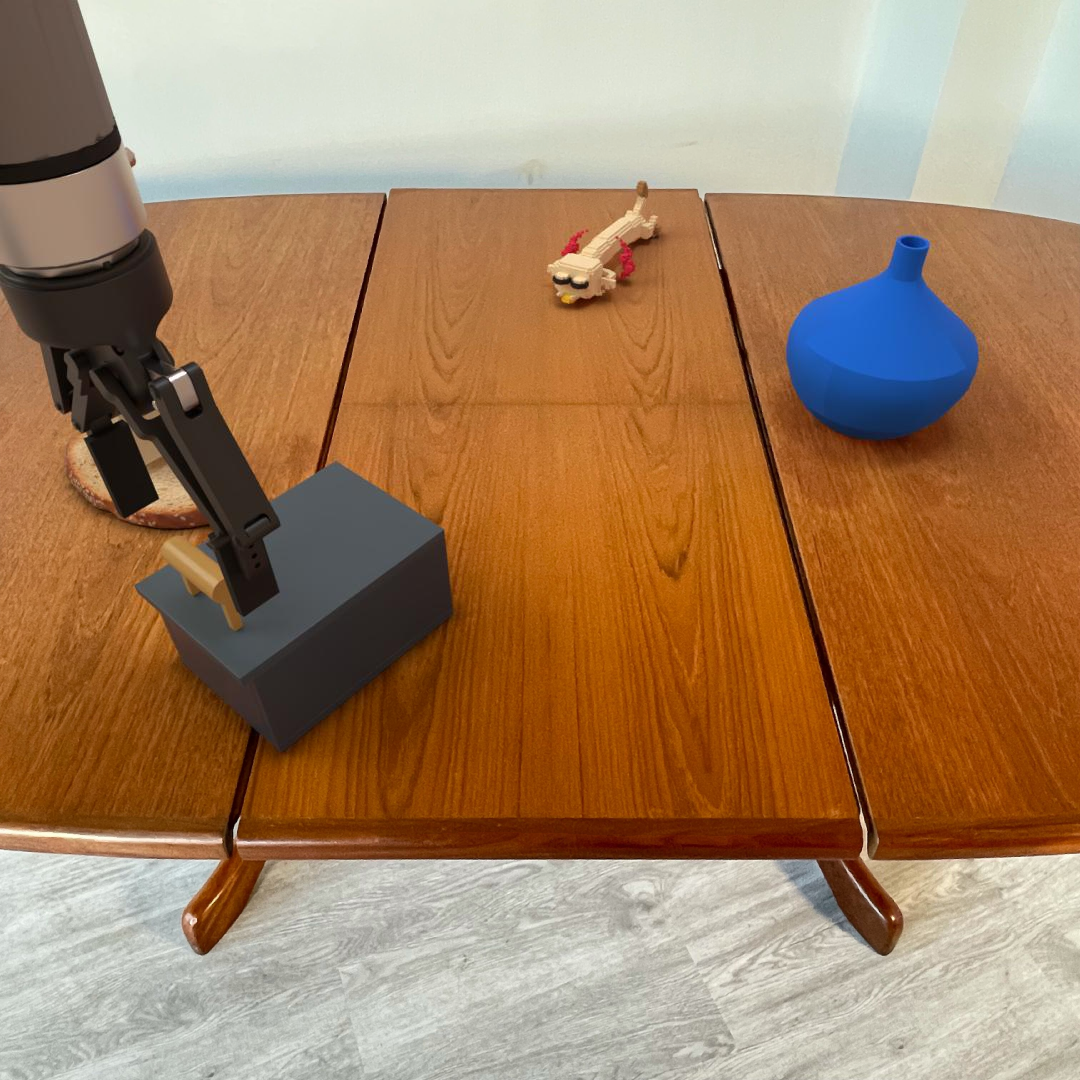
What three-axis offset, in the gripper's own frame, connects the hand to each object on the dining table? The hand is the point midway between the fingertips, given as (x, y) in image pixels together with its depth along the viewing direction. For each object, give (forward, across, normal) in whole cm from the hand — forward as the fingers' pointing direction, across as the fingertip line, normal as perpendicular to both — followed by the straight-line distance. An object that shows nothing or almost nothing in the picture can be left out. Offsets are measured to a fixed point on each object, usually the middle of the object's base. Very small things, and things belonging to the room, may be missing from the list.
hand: (195, 551), depth 57 cm
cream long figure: (+16, +22, -73) cm, 78 cm away
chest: (+15, 0, -7) cm, 17 cm away
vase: (+16, -19, -65) cm, 69 cm away
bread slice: (+15, +29, -10) cm, 34 cm away
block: (+12, +29, -10) cm, 33 cm away
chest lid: (+6, 0, -7) cm, 9 cm away
